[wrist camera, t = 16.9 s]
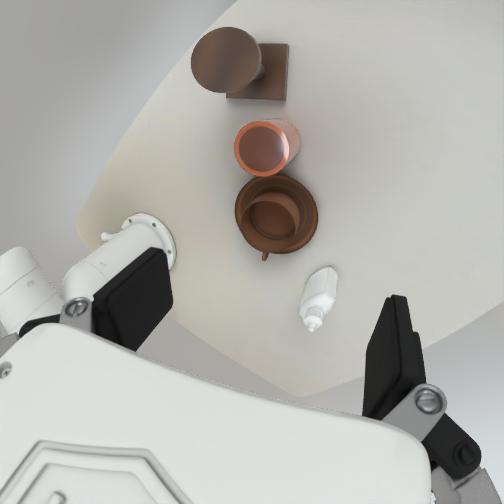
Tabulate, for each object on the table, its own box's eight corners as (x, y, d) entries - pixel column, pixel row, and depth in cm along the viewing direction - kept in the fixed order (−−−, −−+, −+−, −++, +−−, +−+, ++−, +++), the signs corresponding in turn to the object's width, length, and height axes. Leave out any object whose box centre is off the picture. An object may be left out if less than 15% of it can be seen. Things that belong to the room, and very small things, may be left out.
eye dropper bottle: (301, 270, 46) (285, 319, 36) (335, 264, 43) (329, 313, 33) (308, 292, 47) (294, 344, 37) (341, 287, 45) (336, 339, 35)
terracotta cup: (253, 161, 40) (232, 173, 33) (255, 117, 37) (234, 119, 30) (298, 166, 38) (287, 180, 32) (302, 120, 35) (291, 123, 29)
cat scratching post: (229, 98, 37) (186, 97, 26) (231, 46, 33) (189, 28, 23) (285, 100, 35) (261, 97, 25) (288, 45, 31) (265, 21, 21)
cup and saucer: (323, 246, 43) (319, 267, 38) (247, 249, 47) (234, 269, 42) (313, 166, 38) (307, 176, 33) (231, 176, 42) (214, 188, 37)
